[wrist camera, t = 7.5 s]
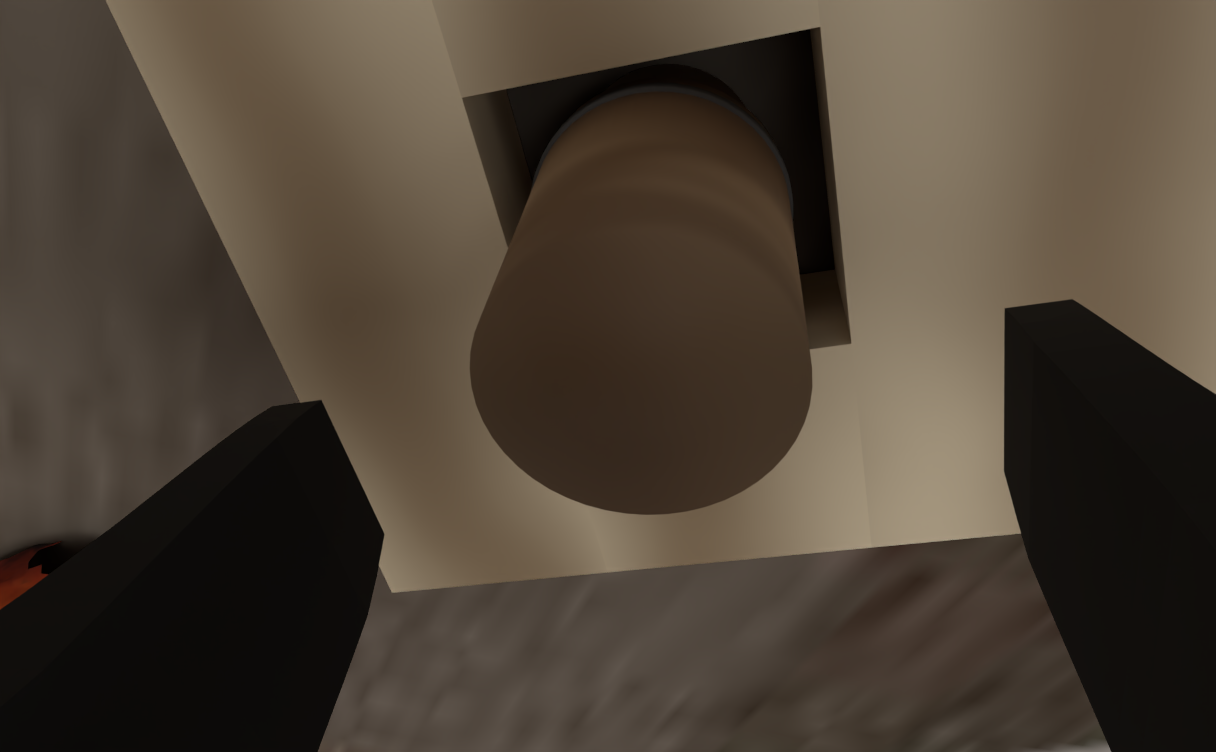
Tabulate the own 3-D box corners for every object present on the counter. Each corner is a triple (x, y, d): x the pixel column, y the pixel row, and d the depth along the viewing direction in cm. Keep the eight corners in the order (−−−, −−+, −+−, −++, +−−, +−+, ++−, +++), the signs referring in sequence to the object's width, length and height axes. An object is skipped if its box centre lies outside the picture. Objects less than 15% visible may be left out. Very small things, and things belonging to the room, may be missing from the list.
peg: (771, 15, 15) (800, 199, 9) (794, 239, 17) (830, 503, 11) (530, 59, 16) (420, 254, 10) (581, 268, 18) (514, 529, 12)
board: (1674, -1212, 9) (1974, -1501, 7) (1316, 409, 18) (1393, 498, 16) (-40, -563, 12) (-195, -619, 10) (422, 509, 22) (392, 592, 20)
